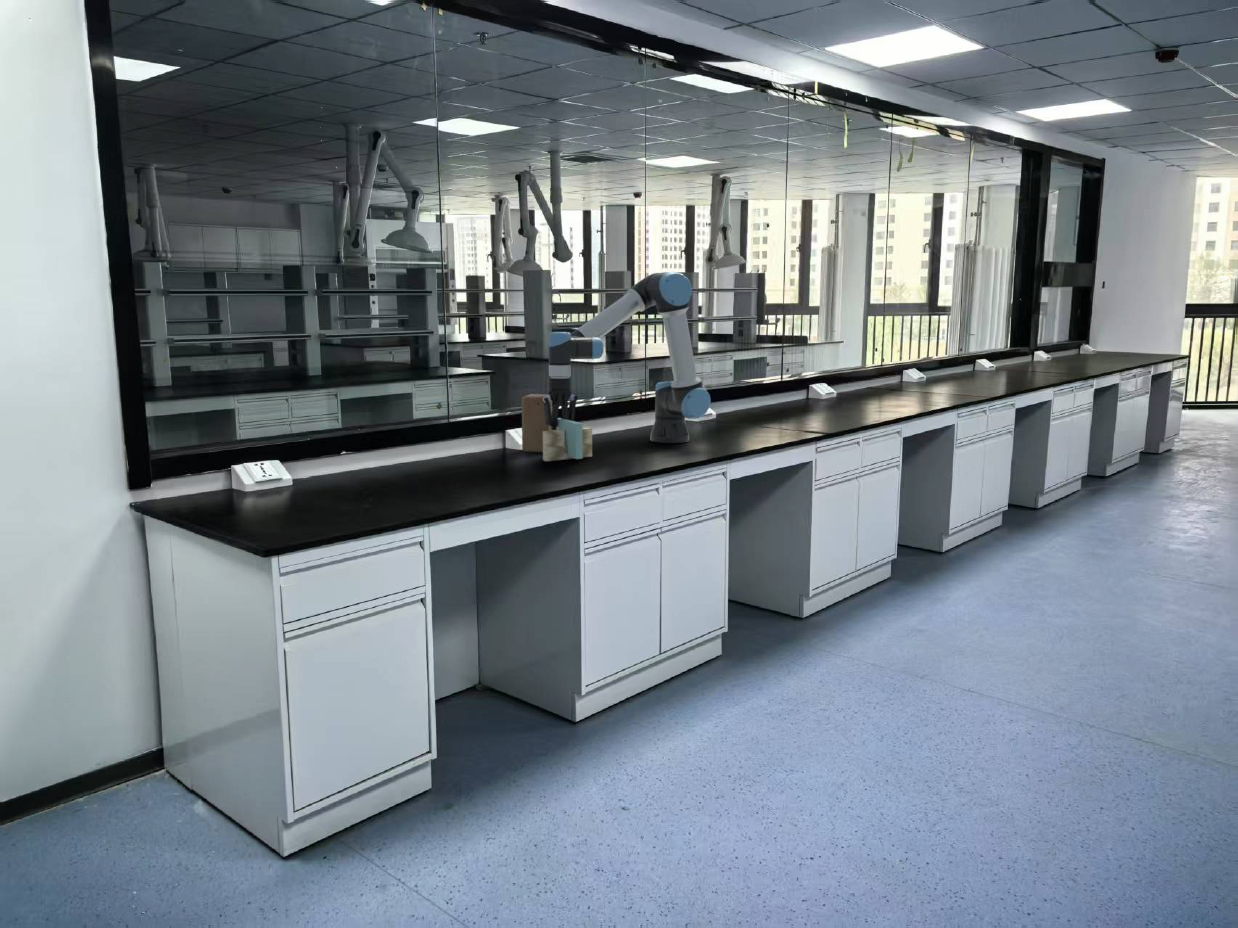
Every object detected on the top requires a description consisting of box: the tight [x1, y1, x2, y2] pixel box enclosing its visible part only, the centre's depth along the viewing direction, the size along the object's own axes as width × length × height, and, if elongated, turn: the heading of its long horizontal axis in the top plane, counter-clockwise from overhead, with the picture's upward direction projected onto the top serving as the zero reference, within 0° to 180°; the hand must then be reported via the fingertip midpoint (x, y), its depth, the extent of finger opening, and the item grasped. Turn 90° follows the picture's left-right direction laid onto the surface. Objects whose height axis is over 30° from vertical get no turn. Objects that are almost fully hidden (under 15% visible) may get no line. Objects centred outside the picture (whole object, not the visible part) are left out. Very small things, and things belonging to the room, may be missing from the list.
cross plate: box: [557, 417, 584, 460], centre depth 305 cm, size 16×2×12 cm, turn 32°
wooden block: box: [521, 393, 552, 454], centre depth 320 cm, size 10×10×20 cm
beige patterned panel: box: [542, 427, 593, 462], centre depth 305 cm, size 18×2×10 cm, turn 122°
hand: (560, 444), depth 310 cm, fingers closed on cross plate, 2 cm apart
